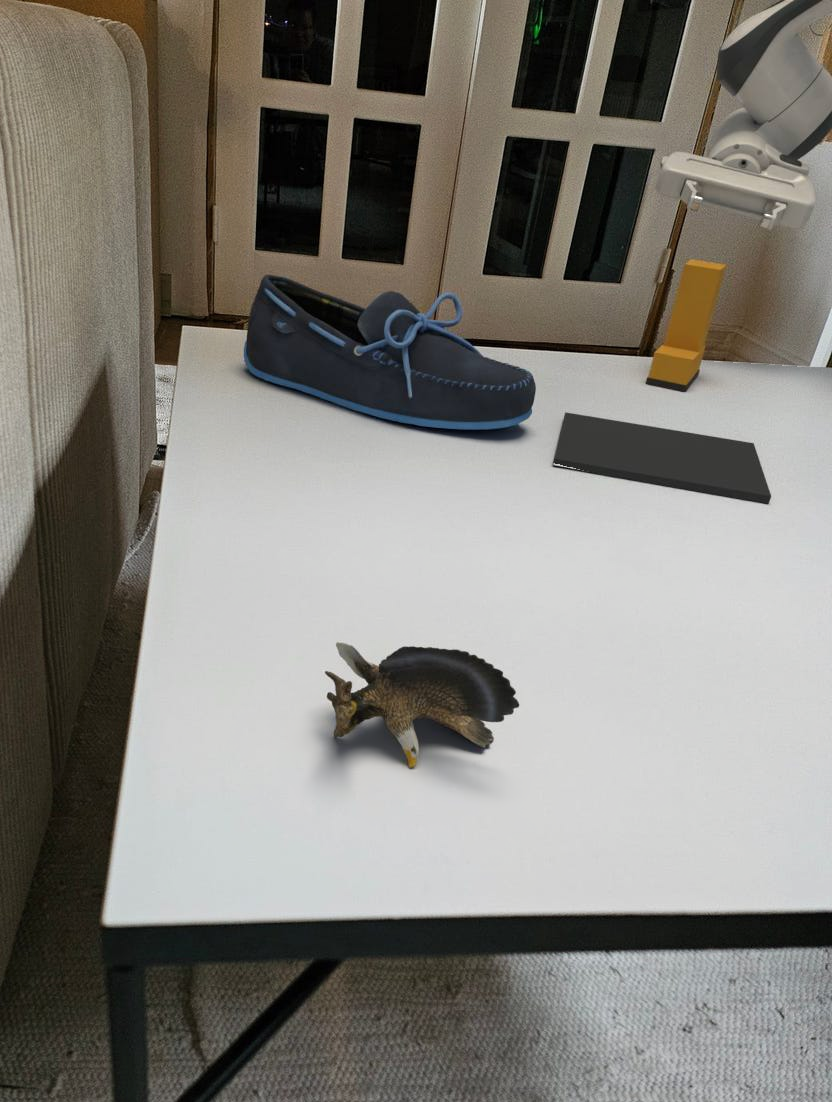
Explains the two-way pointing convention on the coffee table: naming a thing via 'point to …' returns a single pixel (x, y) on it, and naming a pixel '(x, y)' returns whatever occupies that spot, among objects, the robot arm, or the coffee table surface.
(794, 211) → the robot arm
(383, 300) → the moccasin
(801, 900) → the coffee table surface
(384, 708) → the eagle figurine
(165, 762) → the coffee table surface
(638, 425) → the shoe mat
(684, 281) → the boot
